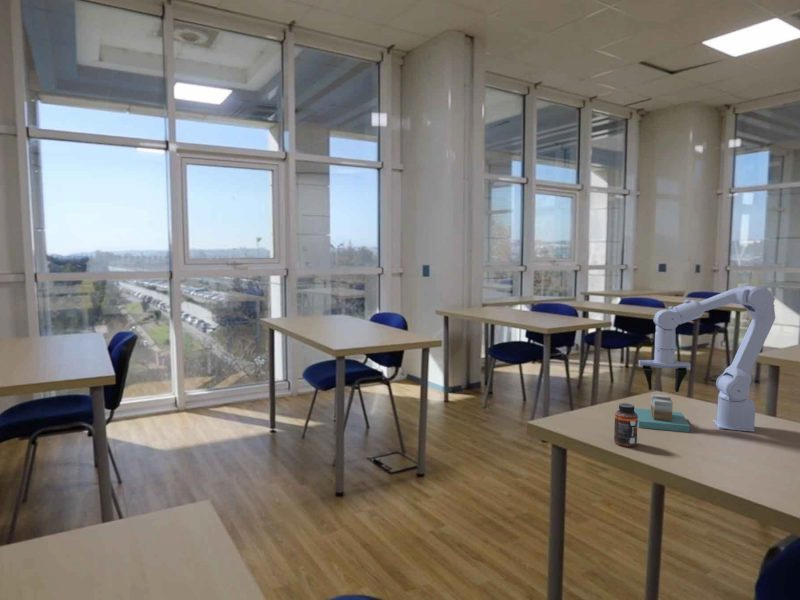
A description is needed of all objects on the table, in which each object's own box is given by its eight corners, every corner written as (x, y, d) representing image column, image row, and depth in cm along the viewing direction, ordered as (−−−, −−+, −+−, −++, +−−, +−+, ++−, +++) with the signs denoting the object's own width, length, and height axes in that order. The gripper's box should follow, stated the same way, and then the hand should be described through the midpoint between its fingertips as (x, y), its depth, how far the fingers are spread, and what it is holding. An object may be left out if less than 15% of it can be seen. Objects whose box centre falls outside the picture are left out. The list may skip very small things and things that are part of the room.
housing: (671, 421, 160) (672, 402, 159) (653, 419, 162) (654, 401, 161) (667, 413, 167) (668, 395, 167) (650, 412, 169) (651, 394, 169)
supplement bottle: (639, 448, 144) (640, 408, 143) (616, 447, 145) (617, 407, 144) (634, 440, 150) (635, 402, 148) (612, 439, 151) (613, 401, 150)
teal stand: (681, 418, 169) (681, 412, 169) (689, 432, 156) (689, 425, 156) (634, 414, 174) (634, 408, 174) (638, 427, 161) (638, 421, 160)
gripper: (688, 347, 165) (686, 388, 166) (638, 344, 169) (636, 385, 171) (692, 351, 158) (690, 394, 159) (640, 348, 163) (639, 391, 164)
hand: (663, 390), depth 165 cm, fingers open, 7 cm apart
